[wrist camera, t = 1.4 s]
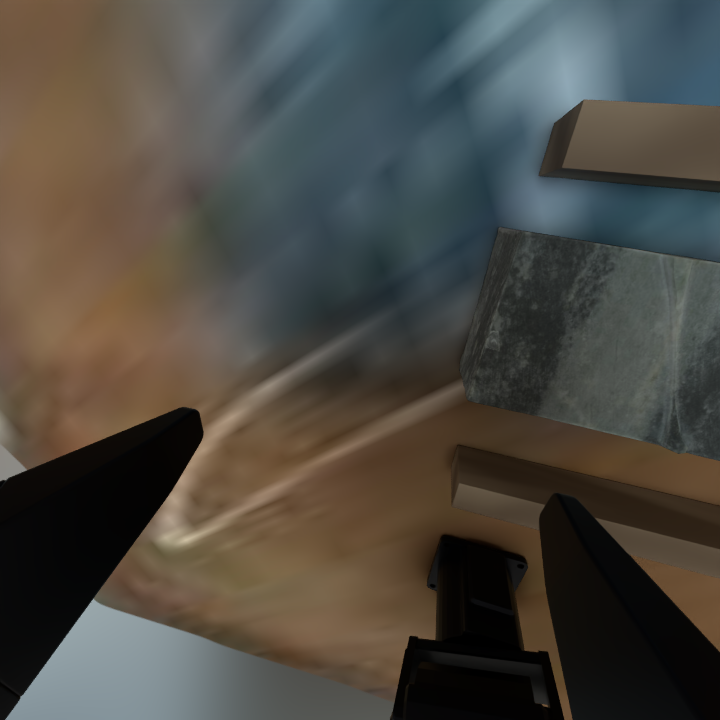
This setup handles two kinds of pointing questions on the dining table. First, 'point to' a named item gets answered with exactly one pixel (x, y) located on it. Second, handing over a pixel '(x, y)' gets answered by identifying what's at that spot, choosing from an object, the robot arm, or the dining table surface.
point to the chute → (599, 496)
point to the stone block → (600, 339)
